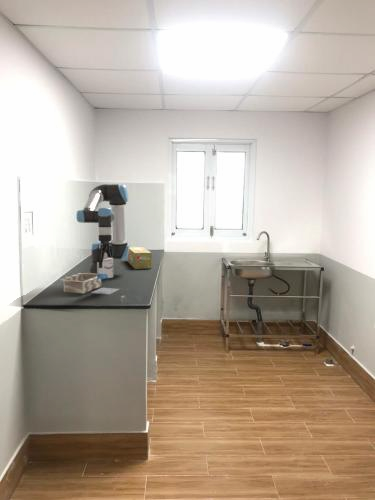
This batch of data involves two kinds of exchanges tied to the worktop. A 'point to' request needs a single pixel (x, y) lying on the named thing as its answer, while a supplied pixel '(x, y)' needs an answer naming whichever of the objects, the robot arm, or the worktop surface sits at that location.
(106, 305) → the worktop surface
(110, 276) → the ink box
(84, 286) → the beige storage basket
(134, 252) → the soda box
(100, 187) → the robot arm
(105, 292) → the mat
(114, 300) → the worktop surface
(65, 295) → the worktop surface
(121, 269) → the worktop surface
